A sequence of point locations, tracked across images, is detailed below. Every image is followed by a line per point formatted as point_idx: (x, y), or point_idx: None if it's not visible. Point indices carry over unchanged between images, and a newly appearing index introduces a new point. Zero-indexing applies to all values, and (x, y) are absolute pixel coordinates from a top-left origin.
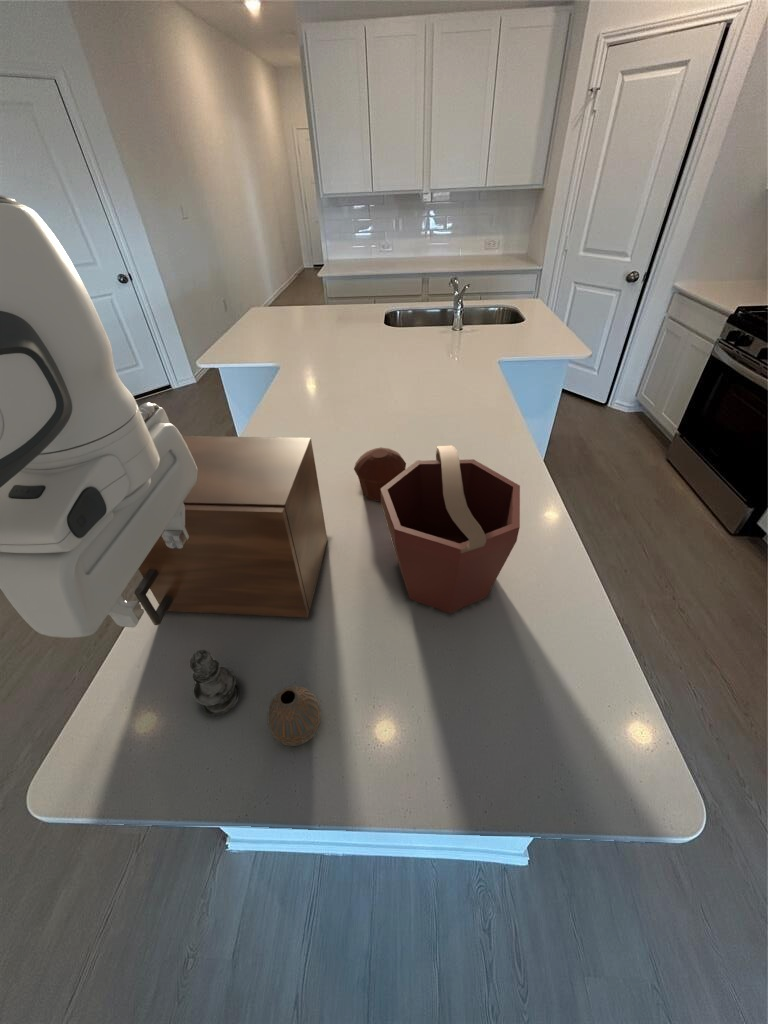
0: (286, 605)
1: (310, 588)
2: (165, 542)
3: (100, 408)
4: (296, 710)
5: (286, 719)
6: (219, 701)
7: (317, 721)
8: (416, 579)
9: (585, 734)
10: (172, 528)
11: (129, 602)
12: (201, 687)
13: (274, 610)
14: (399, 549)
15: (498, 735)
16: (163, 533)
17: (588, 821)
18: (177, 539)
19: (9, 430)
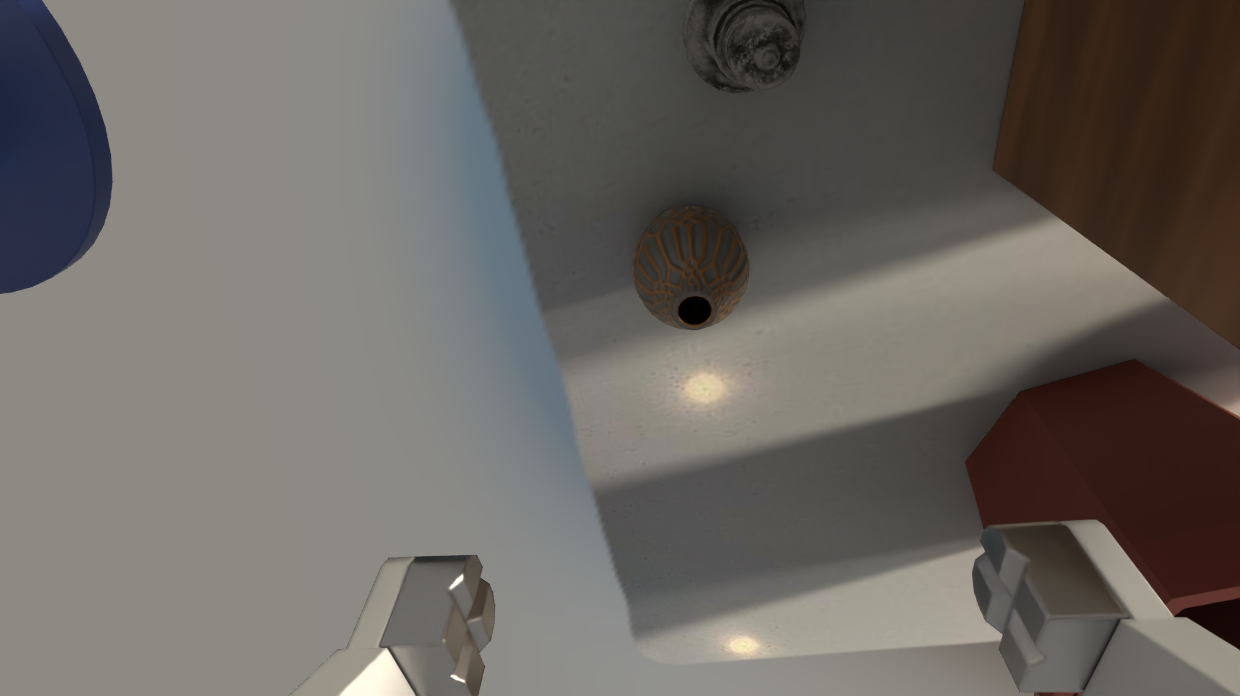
0: (1030, 131)
1: None
2: (1014, 557)
3: None
4: (674, 322)
5: (655, 301)
6: (698, 71)
7: (682, 319)
8: (1041, 476)
9: (734, 603)
10: (1114, 669)
11: (454, 683)
12: (720, 16)
13: (1025, 76)
14: (1114, 537)
15: (719, 525)
16: (1076, 620)
17: (629, 594)
18: (1007, 653)
19: None
